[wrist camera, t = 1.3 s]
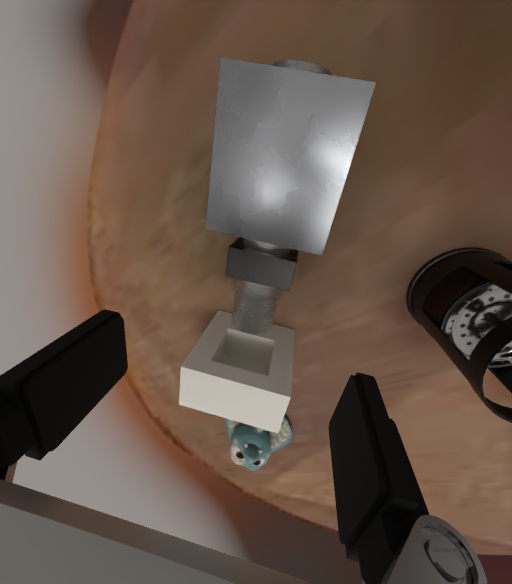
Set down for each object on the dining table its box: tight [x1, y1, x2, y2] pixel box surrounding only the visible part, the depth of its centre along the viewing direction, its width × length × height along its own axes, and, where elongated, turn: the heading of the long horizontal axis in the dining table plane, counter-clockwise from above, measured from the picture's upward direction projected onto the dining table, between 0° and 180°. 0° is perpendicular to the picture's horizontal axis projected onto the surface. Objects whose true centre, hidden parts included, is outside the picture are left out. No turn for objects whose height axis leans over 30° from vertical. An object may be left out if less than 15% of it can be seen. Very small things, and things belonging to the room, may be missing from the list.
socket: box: [179, 310, 295, 433], centre depth 27 cm, size 5×10×10 cm, turn 80°
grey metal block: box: [206, 57, 376, 256], centre depth 19 cm, size 9×8×10 cm
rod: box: [225, 60, 333, 335], centre depth 20 cm, size 19×5×5 cm, turn 170°
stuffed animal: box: [225, 416, 292, 471], centre depth 36 cm, size 11×7×12 cm
